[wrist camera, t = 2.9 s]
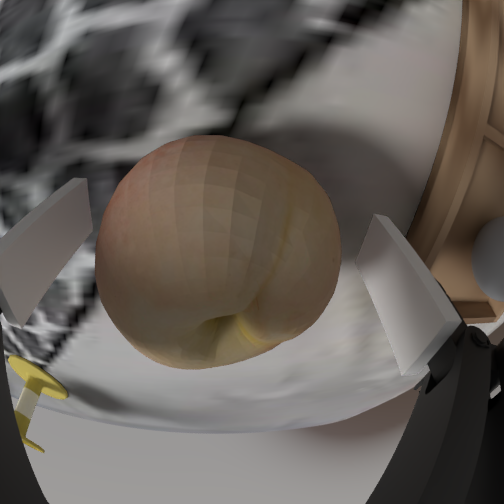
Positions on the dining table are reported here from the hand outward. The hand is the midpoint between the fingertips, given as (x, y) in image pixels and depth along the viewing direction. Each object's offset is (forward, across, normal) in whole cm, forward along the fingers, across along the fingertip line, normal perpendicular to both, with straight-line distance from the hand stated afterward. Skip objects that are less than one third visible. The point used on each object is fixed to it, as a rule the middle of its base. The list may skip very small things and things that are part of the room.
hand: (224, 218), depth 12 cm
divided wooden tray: (+1, +16, +7) cm, 18 cm away
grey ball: (+1, +16, +1) cm, 16 cm away
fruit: (+2, 0, 0) cm, 2 cm away
